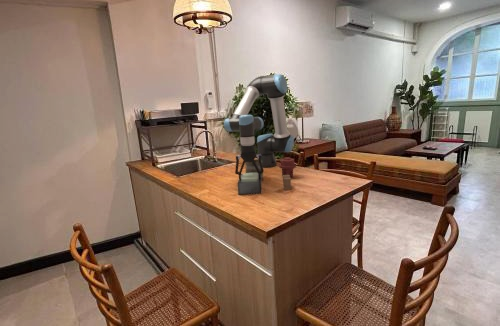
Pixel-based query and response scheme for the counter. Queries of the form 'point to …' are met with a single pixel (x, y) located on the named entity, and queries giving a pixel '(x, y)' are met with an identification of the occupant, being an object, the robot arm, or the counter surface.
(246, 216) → the counter surface
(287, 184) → the block
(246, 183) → the frame
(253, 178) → the board
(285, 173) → the mechanical component
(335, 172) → the counter surface
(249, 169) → the mug
